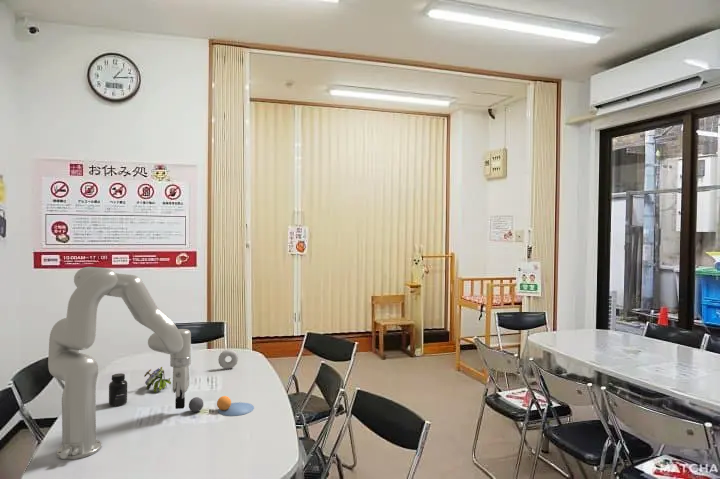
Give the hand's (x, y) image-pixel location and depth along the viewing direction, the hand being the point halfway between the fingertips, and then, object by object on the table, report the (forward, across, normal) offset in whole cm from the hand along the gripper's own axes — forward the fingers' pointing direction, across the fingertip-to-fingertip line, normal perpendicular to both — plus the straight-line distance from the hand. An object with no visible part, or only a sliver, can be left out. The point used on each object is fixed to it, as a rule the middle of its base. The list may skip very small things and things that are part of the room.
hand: (180, 407), depth 190 cm
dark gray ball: (-1, +1, -6) cm, 6 cm away
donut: (+2, +58, -14) cm, 60 cm away
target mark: (+2, 0, -21) cm, 21 cm away
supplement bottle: (+3, +15, +27) cm, 31 cm away
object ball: (-1, 0, -17) cm, 17 cm away
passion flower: (+2, +32, +15) cm, 35 cm away
